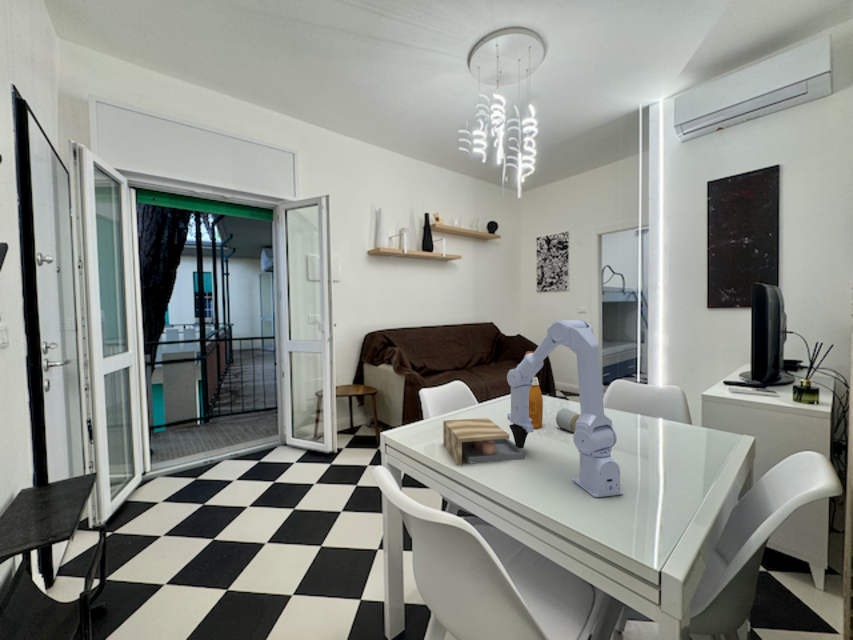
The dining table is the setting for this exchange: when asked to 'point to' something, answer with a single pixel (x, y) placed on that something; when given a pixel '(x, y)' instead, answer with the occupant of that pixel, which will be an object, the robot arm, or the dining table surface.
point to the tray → (502, 452)
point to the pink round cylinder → (488, 447)
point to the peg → (477, 445)
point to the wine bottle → (535, 403)
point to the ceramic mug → (567, 419)
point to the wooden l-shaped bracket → (469, 434)
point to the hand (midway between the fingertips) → (519, 447)
